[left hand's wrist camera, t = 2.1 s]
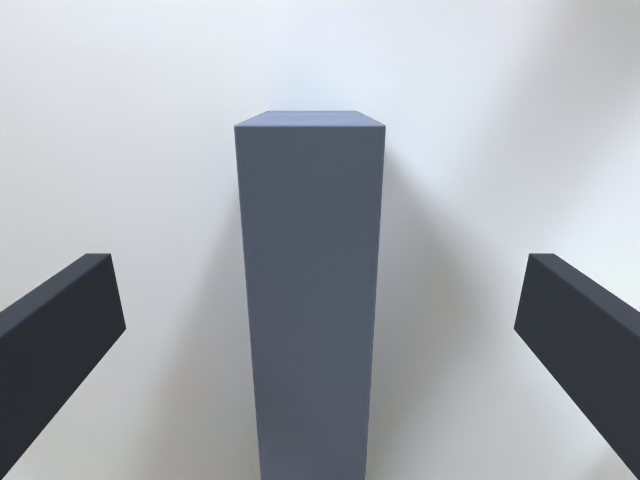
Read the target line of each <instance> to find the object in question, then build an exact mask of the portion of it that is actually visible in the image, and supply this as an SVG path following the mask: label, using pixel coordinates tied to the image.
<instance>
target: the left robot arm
mask: <svg viewBox="0 0 640 480" xmlns="http://www.w3.org/2000/svg"><path fill="white" fill-rule="evenodd" d="M125 330H126V325H125V321H124V316H123V311H122V306H121V301H120V296H119V292H118V287H117V282H116V277H115V272H114V267H113V262H112V258H111V254H85V255H83V256H82V257H81V258H79V259H78V260H76V261H75V262H73V263H72V264H70V265H69V266H67V267H66V268H64V269H63V270H62V271H60V272H59V273H57V274H56V275H54V276H53V277H51V278H50V279H48V280H47V281H45V282H44V283H43V284H41V285H40V286H38V287H37V288H35V289H34V290H32V291H31V292H29V293H28V294H26V295H25V296H24V297H22V298H21V299H19V300H18V301H16V302H15V303H13V304H12V305H10V306H9V307H7V308H6V309H4V310H3V311H2V312H0V480H2V479H3V478H4V476H5V475H6V474H7V473H8V471H9V470H10V469H11V468H12V467H13V465H14V464H15V463H16V462H17V461H18V459H19V458H20V457H21V456H22V454H23V453H24V452H25V451H26V450H27V448H28V447H29V446H30V445H31V444H32V442H33V441H34V440H35V439H36V438H37V436H38V435H39V434H40V433H41V431H42V430H43V429H44V428H45V427H46V425H47V424H48V423H49V422H50V421H51V419H52V418H53V417H54V416H55V414H56V413H57V412H58V411H59V410H60V408H61V407H62V406H63V405H64V404H65V402H66V401H67V400H68V399H69V398H70V396H71V395H72V394H73V393H74V391H75V390H76V389H77V388H78V387H79V385H80V384H81V383H82V382H83V381H84V379H85V378H86V377H87V376H88V374H89V373H90V372H91V371H92V370H93V368H94V367H95V366H96V365H97V364H98V362H99V361H100V360H101V359H102V358H103V356H104V355H105V354H106V353H107V351H108V350H109V349H110V348H111V347H112V345H113V344H114V343H115V342H116V341H117V339H118V338H119V337H120V336H121V334H122V333H123V332H124V331H125ZM514 330H515V331H516V332H517V333H518V334H519V336H520V337H521V338H522V339H523V341H524V342H525V343H526V344H527V345H528V347H529V348H530V349H531V350H532V351H533V353H534V354H535V355H536V356H537V358H538V359H539V360H540V361H541V362H542V364H543V365H544V366H545V367H546V368H547V370H548V371H549V372H550V373H551V374H552V376H553V377H554V378H555V379H556V381H557V382H558V383H559V384H560V385H561V387H562V388H563V389H564V390H565V391H566V393H567V394H568V395H569V396H570V398H571V399H572V400H573V401H574V402H575V404H576V405H577V406H578V407H579V408H580V410H581V411H582V412H583V413H584V414H585V416H586V417H587V418H588V419H589V421H590V422H591V423H592V424H593V425H594V427H595V428H596V429H597V430H598V431H599V433H600V434H601V435H602V436H603V438H604V439H605V440H606V441H607V442H608V444H609V445H610V446H611V447H612V448H613V450H614V451H615V452H616V453H617V454H618V456H619V457H620V458H621V459H622V461H623V462H624V463H625V464H626V465H627V467H628V468H629V469H630V470H631V471H632V473H633V474H634V475H635V476H636V478H637V479H638V480H640V312H638V311H637V310H636V309H634V308H633V307H631V306H630V305H628V304H627V303H625V302H624V301H622V300H621V299H619V298H618V297H616V296H615V295H614V294H612V293H611V292H609V291H608V290H606V289H605V288H603V287H602V286H600V285H599V284H597V283H596V282H595V281H593V280H592V279H590V278H589V277H587V276H586V275H584V274H583V273H581V272H580V271H578V270H577V269H576V268H574V267H573V266H571V265H570V264H568V263H567V262H565V261H564V260H562V259H561V258H559V257H558V256H557V255H555V254H529V258H528V262H527V267H526V272H525V277H524V282H523V287H522V292H521V296H520V301H519V306H518V311H517V316H516V321H515V325H514Z"/></svg>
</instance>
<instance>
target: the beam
mask: <svg viewBox="0 0 640 480" xmlns="http://www.w3.org/2000/svg"><path fill="white" fill-rule="evenodd" d="M385 131H386V126H385V125H384V124H382V123H380V122H378V121H376V120H374V119H372V118H370V117H368V116H366V115H364V114H362V113H360V112H358V111H267V112H264V113H262V114H260V115H257V116H255V117H253V118H251V119H248V120H246V121H244V122H241V123H239V124H237V125H235V126H234V132H235V145H236V158H237V171H238V184H239V198H240V211H241V224H242V237H243V250H244V263H245V276H246V289H247V302H248V315H249V328H250V341H251V354H252V367H253V380H254V393H255V406H256V419H257V432H258V445H259V458H260V471H261V480H365V470H366V453H367V436H368V419H369V402H370V385H371V368H372V351H373V334H374V317H375V300H376V283H377V266H378V250H379V233H380V216H381V199H382V182H383V165H384V148H385Z"/></svg>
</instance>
